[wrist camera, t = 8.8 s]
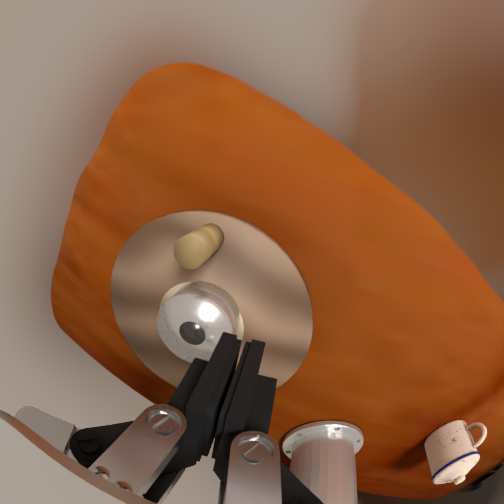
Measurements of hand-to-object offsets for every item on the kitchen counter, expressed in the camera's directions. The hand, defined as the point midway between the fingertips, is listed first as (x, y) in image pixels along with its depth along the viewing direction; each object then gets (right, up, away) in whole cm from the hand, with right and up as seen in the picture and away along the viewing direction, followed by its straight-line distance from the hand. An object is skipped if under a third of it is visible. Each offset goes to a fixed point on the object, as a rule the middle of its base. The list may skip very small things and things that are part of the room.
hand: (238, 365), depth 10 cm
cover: (-4, -2, +16) cm, 16 cm away
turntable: (-4, -2, +18) cm, 18 cm away
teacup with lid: (+35, -27, +20) cm, 49 cm away
